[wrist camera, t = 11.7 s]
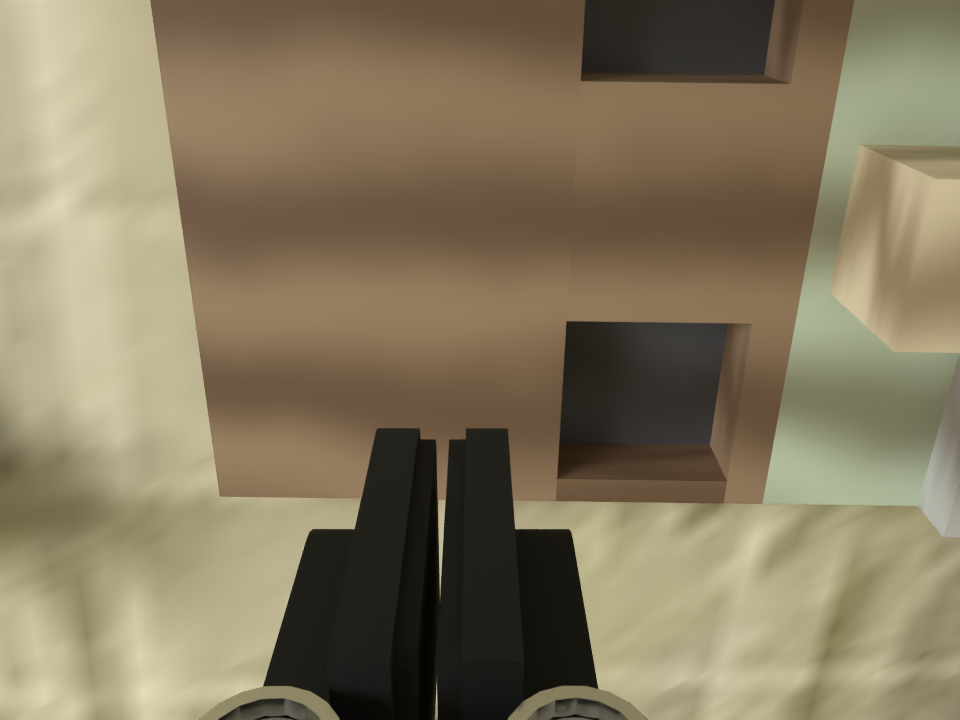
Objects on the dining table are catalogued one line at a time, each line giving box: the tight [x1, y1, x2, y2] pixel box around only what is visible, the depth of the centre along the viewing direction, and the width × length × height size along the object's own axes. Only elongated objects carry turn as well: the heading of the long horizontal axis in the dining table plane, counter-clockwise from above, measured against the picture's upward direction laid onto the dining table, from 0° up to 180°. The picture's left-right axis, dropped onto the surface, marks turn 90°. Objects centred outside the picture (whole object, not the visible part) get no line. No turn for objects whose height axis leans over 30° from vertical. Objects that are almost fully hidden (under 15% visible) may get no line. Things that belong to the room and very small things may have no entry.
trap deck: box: [150, 0, 960, 538], centre depth 28 cm, size 23×28×5 cm
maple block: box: [829, 145, 960, 353], centre depth 25 cm, size 5×5×5 cm
